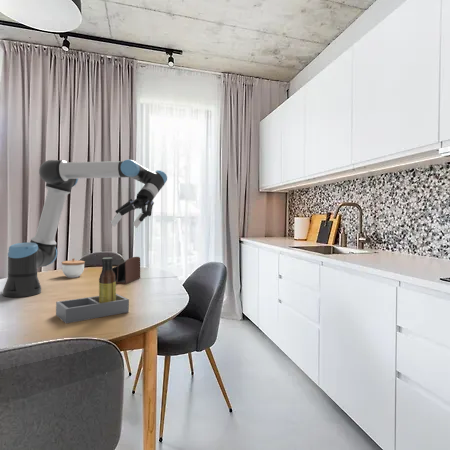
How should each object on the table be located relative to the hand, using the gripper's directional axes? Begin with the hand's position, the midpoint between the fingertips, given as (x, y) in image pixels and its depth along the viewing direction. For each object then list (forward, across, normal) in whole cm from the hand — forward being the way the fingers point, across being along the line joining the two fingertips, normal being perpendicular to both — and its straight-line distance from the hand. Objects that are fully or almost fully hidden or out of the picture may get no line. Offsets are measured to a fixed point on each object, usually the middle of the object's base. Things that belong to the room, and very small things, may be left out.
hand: (123, 225), depth 143 cm
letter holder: (0, +31, -48) cm, 57 cm away
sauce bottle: (+34, -8, -12) cm, 37 cm away
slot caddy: (+38, -6, -9) cm, 40 cm away
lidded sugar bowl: (+7, +65, -41) cm, 77 cm away
